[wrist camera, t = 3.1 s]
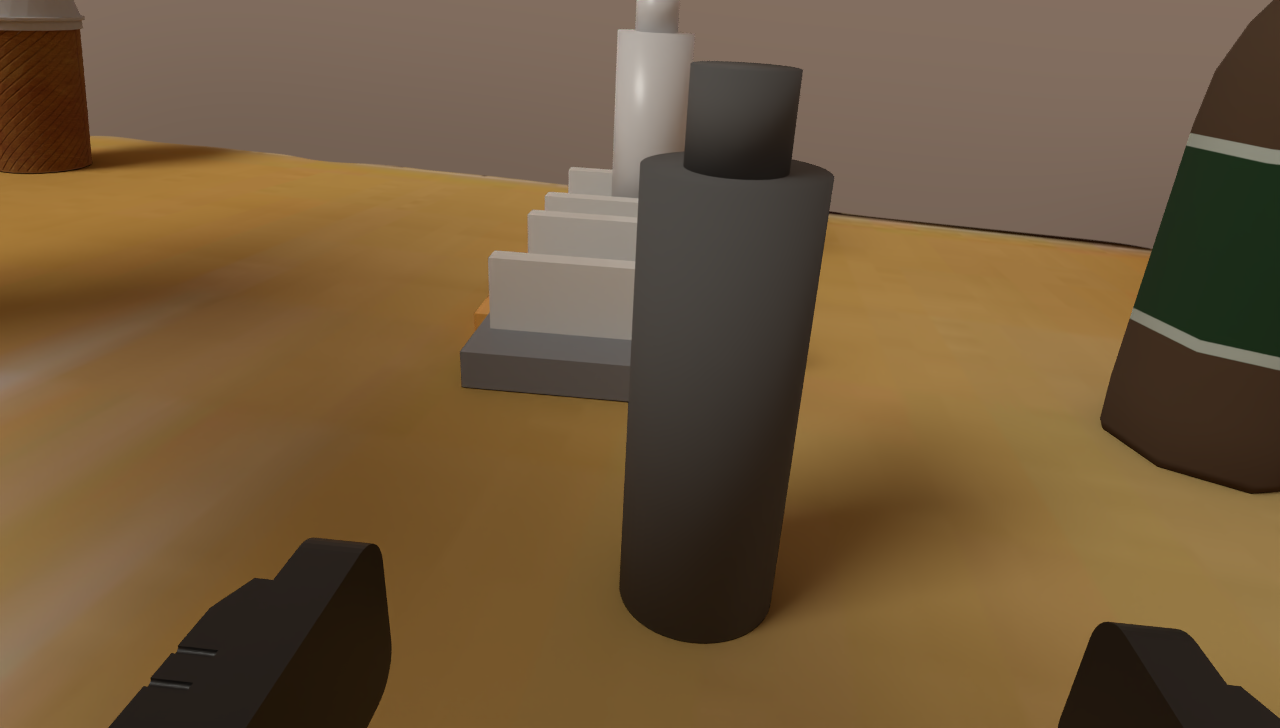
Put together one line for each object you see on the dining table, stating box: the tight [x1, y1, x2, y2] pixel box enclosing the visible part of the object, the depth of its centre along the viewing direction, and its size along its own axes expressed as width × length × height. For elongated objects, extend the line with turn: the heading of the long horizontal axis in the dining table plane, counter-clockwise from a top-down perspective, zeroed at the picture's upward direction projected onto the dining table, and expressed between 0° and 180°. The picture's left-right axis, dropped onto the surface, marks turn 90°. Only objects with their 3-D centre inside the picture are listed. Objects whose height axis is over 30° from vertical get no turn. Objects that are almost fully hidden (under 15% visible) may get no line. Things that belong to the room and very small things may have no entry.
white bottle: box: [612, 0, 695, 198], centre depth 43 cm, size 4×4×13 cm
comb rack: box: [460, 167, 638, 401], centre depth 41 cm, size 24×12×4 cm, turn 174°
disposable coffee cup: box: [0, 0, 92, 173], centre depth 59 cm, size 10×10×12 cm
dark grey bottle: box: [620, 61, 834, 643], centre depth 18 cm, size 4×4×13 cm
